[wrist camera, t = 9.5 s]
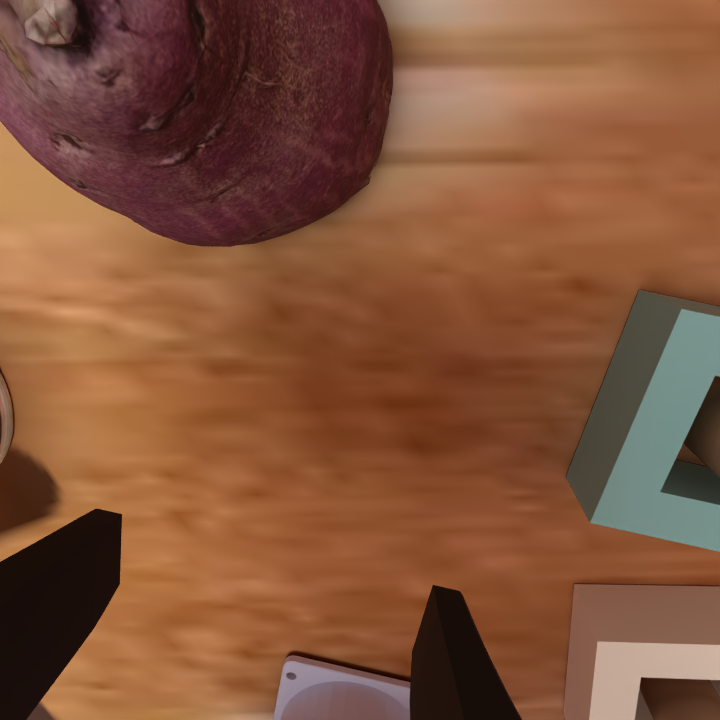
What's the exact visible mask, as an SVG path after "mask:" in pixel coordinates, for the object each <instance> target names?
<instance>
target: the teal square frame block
mask: <svg viewBox="0 0 720 720" xmlns="http://www.w3.org/2000/svg"><path fill="white" fill-rule="evenodd" d="M715 376H719V377H720V306H715V305H710V304H706V303H701V302H696V301H691V300H686V299H682V298H677V297H672V296H667V295H662V294H657V293H653V292H648V291H643V290H639V291H638V294H637V296H636V299H635V301H634V304H633V306H632V309H631V311H630V314H629V317H628V319H627V322H626V324H625V327H624V329H623V332H622V334H621V337H620V340H619V342H618V345H617V347H616V350H615V352H614V355H613V357H612V360H611V363H610V365H609V368H608V370H607V373H606V375H605V378H604V380H603V383H602V386H601V388H600V391H599V393H598V396H597V398H596V401H595V403H594V406H593V409H592V411H591V414H590V416H589V419H588V421H587V424H586V426H585V429H584V432H583V434H582V437H581V439H580V442H579V444H578V447H577V449H576V452H575V455H574V457H573V460H572V462H571V465H570V467H569V470H568V472H567V475H566V478H567V480H568V482H569V484H570V486H571V488H572V490H573V492H574V493H575V495H576V497H577V499H578V501H579V503H580V505H581V507H582V509H583V510H584V512H585V514H586V516H587V518H588V520H589V522H590V523H593V524H597V525H602V526H606V527H611V528H615V529H620V530H624V531H629V532H633V533H638V534H642V535H647V536H651V537H656V538H660V539H665V540H669V541H674V542H678V543H683V544H688V545H692V546H697V547H701V548H706V549H710V550H715V551H719V552H720V478H719V477H718V476H717V475H716V474H715V473H714V472H713V471H712V470H711V469H710V468H709V467H706V466H702V465H697V464H692V463H688V462H683V461H679V460H675V459H676V457H677V455H678V453H679V451H680V449H681V447H682V445H683V442H684V440H685V438H686V436H687V434H688V432H689V430H690V428H691V426H692V423H693V421H694V419H695V417H696V415H697V413H698V411H699V409H700V407H701V404H702V402H703V400H704V398H705V396H706V394H707V392H708V390H709V388H710V386H711V383H712V381H713V379H714V377H715Z"/></svg>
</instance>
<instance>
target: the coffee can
mask: <svg viewBox="0 0 720 720" xmlns="http://www.w3.org/2000/svg"><path fill="white" fill-rule="evenodd" d="M12 435H13V410H12V403H11V398H10V395H9V392H8V389H7V386H6V383H5V381H4V379H3V376H2V374H1V372H0V464H1V462H2V461H3V459H4V457H5V456H6V453H7V451H8V448H9V446H10V443H11V439H12Z"/></svg>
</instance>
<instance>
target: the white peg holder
mask: <svg viewBox="0 0 720 720" xmlns="http://www.w3.org/2000/svg"><path fill="white" fill-rule="evenodd" d="M641 677H647V678H674V679H702V680H710V681H711V683H712V684H713V686H714V688H715V689H716V691H717V693H718V694H719V696H720V586H661V585H599V584H574V591H573V603H572V615H571V627H570V638H569V650H568V662H567V674H566V686H565V698H564V709H563V713H564V716H565V720H654V719H653V717H652V715H651V713H650V711H649V708H648V706H647V704H646V702H645V700H644V697H643V695H642V693H641V691H640V689H639V688H640V681H641Z"/></svg>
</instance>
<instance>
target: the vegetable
mask: <svg viewBox="0 0 720 720" xmlns="http://www.w3.org/2000/svg"><path fill="white" fill-rule="evenodd" d="M392 86H393V72H392V47H391V42H390V39H389V33H388V28H387V23H386V20H385V17H384V15H383V12H382V10H381V8H380V6H379V4H378V2H377V0H0V121H1V122H2V123H3V125H4V126H5V127H6V128H7V129H8V130H9V132H10V133H11V134H12V135H13V136H14V137H15V139H16V140H17V141H18V142H19V143H20V144H21V146H22V147H23V148H24V149H25V150H26V151H27V152H28V153H29V154H30V155H31V156H32V157H33V158H34V159H35V160H37V161H38V162H39V163H40V164H41V165H43V166H44V167H45V168H46V169H47V170H49V171H50V172H51V173H52V174H53V175H54V176H56V177H57V178H58V179H60V180H61V181H62V182H64V183H65V184H67V185H68V186H70V187H71V188H72V189H74V190H75V191H77V192H79V193H80V194H82V195H84V196H86V197H87V198H89V199H91V200H92V201H94V202H96V203H98V204H99V205H101V206H103V207H106V208H108V209H110V210H113V211H115V212H117V213H120V214H122V215H124V216H126V217H128V218H130V219H132V220H133V221H134V222H136V223H138V224H139V225H141V226H143V227H144V228H146V229H148V230H149V231H151V232H153V233H156V234H158V235H161V236H163V237H167V238H170V239H173V240H175V241H178V242H181V243H185V244H188V245H197V246H223V247H230V246H235V245H243V244H253V243H258V242H262V241H265V240H269V239H272V238H275V237H278V236H281V235H284V234H287V233H290V232H292V231H295V230H297V229H299V228H302V227H304V226H307V225H309V224H311V223H313V222H315V221H317V220H319V219H321V218H322V217H324V216H326V215H328V214H330V213H331V212H333V211H334V210H336V209H338V208H339V207H341V206H342V205H343V204H344V203H345V202H346V201H347V200H348V199H349V198H351V197H352V196H353V195H354V194H355V193H357V192H358V191H359V190H361V189H362V188H363V187H365V186H366V185H368V184H369V180H370V172H371V170H372V168H373V167H374V166H375V165H376V161H377V158H378V156H379V153H380V151H381V147H382V143H383V136H384V132H385V128H386V124H387V118H388V114H389V104H390V101H391V95H392Z"/></svg>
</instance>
